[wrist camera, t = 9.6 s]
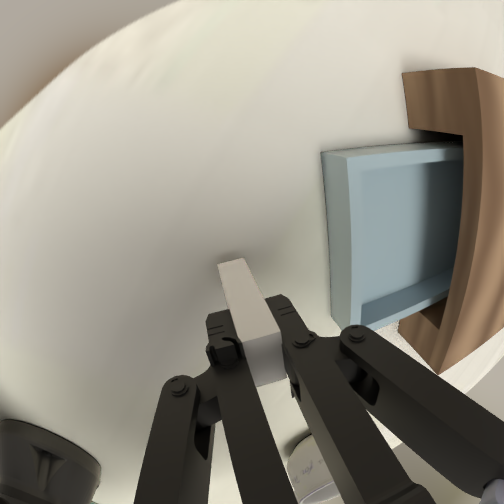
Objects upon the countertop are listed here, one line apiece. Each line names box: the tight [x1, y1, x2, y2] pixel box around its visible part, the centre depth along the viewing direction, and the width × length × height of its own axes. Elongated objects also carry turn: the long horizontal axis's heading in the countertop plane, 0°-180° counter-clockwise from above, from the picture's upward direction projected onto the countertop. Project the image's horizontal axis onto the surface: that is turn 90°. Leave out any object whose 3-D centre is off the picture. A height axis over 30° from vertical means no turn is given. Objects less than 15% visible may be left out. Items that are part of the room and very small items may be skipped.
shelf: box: [398, 67, 504, 375], centre depth 17 cm, size 14×22×6 cm, turn 10°
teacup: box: [287, 435, 340, 504], centre depth 27 cm, size 14×11×8 cm
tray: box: [321, 141, 464, 331], centre depth 18 cm, size 20×12×3 cm, turn 100°
